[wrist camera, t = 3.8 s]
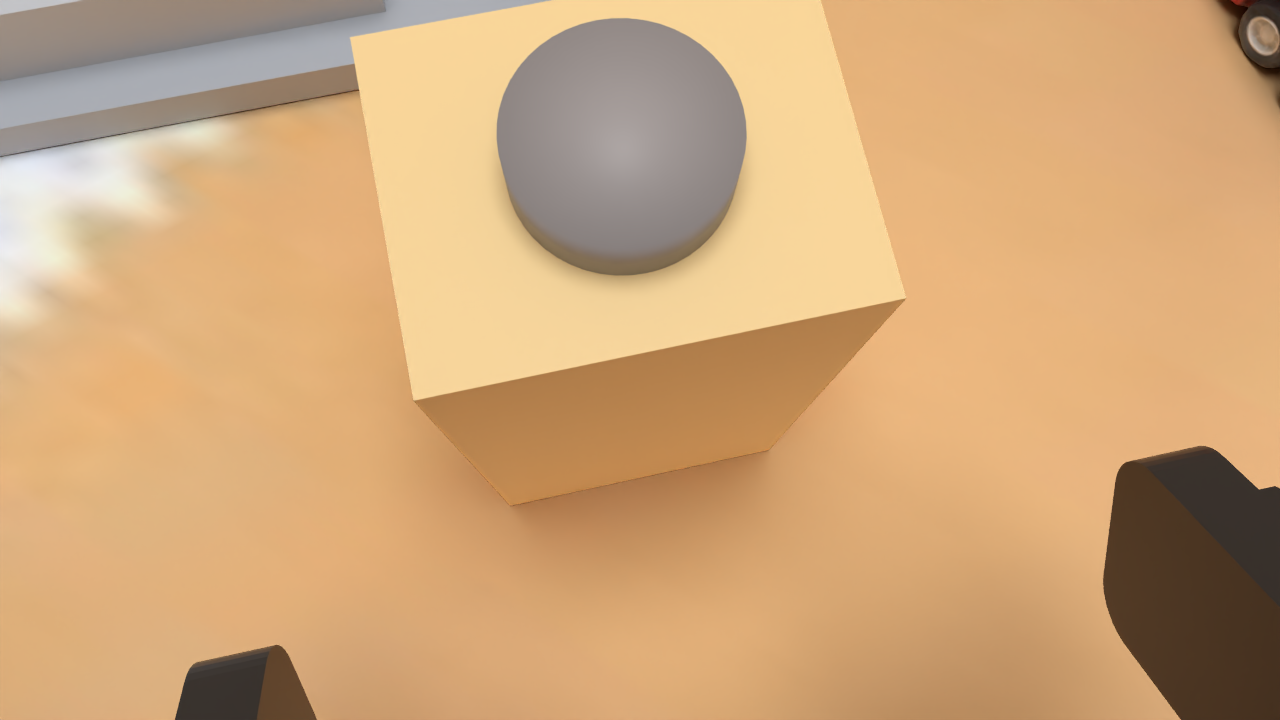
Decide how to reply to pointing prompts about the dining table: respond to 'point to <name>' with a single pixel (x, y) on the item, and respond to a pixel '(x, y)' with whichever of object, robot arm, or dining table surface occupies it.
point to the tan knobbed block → (622, 230)
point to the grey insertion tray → (181, 59)
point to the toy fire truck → (1261, 31)
